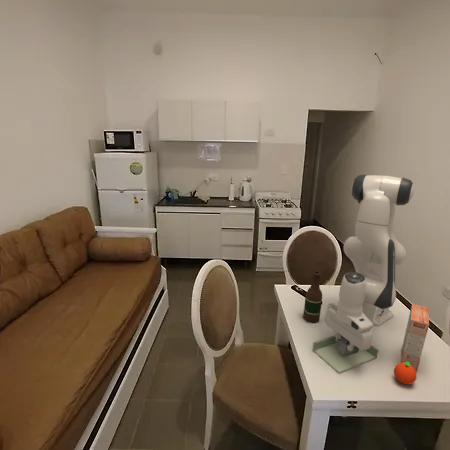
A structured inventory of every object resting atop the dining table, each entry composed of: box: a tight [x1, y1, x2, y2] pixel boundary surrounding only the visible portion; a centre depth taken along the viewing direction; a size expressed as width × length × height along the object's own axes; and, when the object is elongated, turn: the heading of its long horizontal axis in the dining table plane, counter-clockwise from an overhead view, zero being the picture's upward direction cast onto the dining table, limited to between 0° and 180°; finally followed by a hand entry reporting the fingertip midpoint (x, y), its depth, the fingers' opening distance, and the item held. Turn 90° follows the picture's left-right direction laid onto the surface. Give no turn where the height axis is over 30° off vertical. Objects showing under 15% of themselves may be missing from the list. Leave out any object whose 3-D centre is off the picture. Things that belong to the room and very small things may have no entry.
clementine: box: [393, 362, 417, 385], centre depth 110 cm, size 8×7×7 cm
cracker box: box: [399, 303, 430, 374], centre depth 119 cm, size 14×6×21 cm, turn 148°
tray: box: [312, 334, 379, 375], centre depth 123 cm, size 20×14×4 cm
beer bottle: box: [303, 270, 323, 324], centre depth 144 cm, size 8×8×24 cm
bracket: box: [336, 339, 359, 355], centre depth 123 cm, size 8×4×6 cm, turn 116°
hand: (343, 345), depth 122 cm, fingers open, 4 cm apart
